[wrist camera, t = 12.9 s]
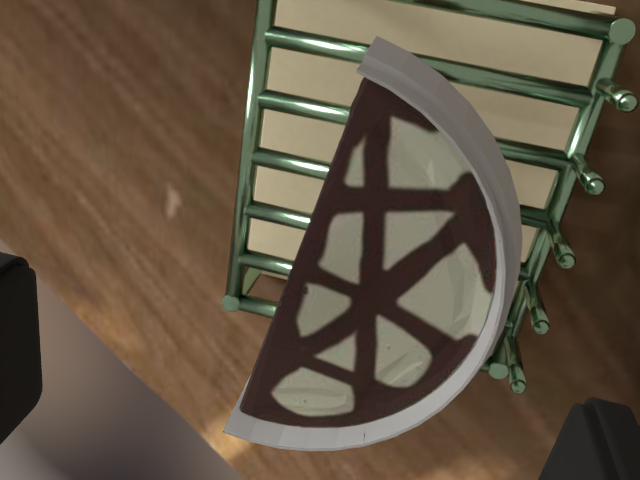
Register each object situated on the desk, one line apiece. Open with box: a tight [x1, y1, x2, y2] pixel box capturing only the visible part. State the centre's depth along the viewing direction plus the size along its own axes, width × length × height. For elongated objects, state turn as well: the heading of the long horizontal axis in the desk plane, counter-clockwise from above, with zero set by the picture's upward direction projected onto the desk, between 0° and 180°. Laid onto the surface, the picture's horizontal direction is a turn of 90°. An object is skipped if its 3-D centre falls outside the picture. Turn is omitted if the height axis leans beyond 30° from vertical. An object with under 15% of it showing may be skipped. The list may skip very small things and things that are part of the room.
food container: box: [223, 36, 523, 451], centre depth 20 cm, size 12×6×10 cm, turn 160°
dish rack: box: [222, 0, 639, 394], centre depth 25 cm, size 14×16×9 cm
